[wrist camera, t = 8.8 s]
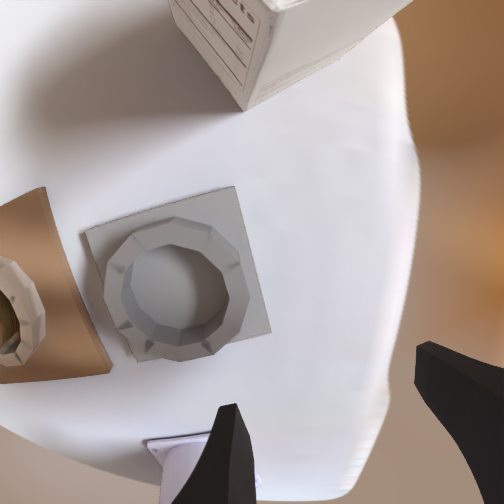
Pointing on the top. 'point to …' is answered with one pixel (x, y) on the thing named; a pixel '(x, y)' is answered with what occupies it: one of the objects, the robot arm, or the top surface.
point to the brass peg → (7, 320)
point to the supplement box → (275, 38)
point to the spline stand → (181, 277)
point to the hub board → (43, 300)
